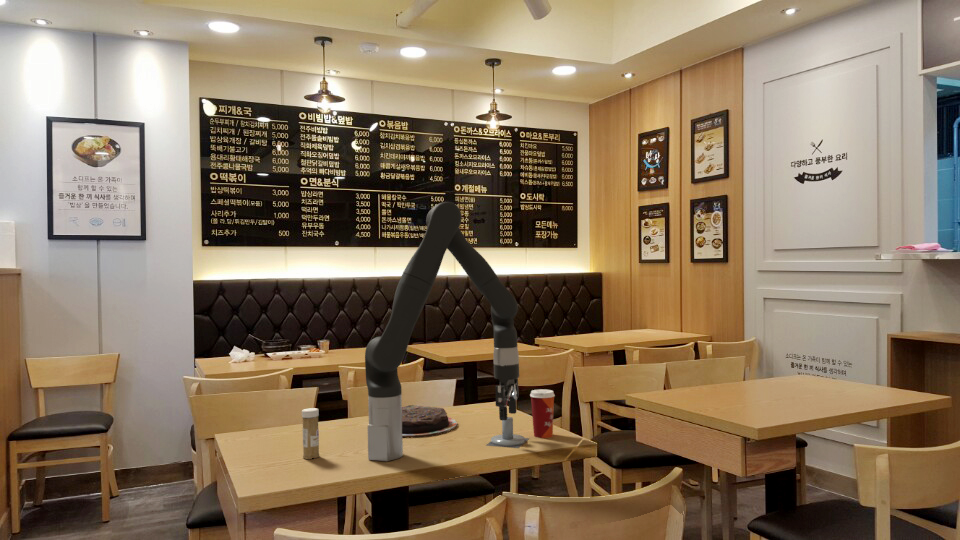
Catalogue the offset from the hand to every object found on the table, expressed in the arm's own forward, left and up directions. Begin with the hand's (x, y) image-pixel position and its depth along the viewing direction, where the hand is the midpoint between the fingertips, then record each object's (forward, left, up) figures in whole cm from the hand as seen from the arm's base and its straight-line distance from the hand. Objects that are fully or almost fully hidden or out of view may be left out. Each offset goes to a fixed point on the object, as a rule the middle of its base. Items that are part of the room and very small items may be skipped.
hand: (508, 416), depth 189 cm
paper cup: (+10, -8, -8) cm, 15 cm away
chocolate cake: (+10, +36, -8) cm, 38 cm away
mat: (0, 0, -8) cm, 8 cm away
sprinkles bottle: (-30, +48, -8) cm, 57 cm away
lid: (0, 0, -7) cm, 7 cm away
